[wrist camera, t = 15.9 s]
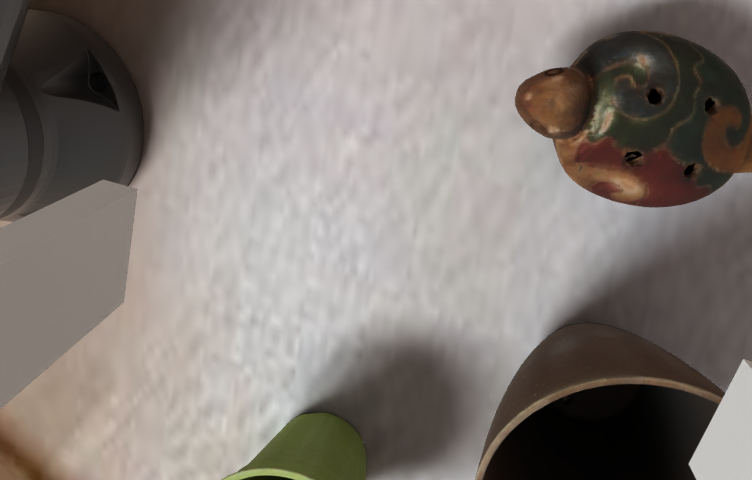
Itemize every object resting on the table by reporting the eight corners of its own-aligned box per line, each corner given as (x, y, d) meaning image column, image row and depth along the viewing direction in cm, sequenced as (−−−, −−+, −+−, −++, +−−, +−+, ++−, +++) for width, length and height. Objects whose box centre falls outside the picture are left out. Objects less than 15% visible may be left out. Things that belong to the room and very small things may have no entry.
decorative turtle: (518, 23, 41) (535, 8, 33) (767, 54, 40) (844, 46, 32) (492, 175, 43) (502, 195, 36) (726, 209, 42) (789, 236, 35)
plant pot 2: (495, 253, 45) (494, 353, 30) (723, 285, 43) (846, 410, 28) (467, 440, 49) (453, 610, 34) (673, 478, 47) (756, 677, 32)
